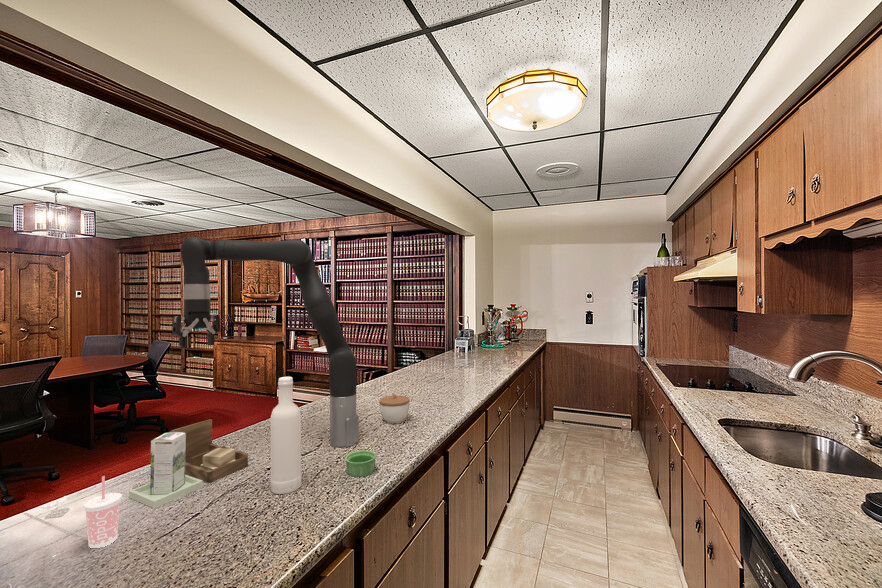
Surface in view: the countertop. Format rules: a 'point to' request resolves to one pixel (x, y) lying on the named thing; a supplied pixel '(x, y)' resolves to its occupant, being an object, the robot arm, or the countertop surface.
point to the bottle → (285, 441)
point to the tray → (157, 500)
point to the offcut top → (218, 457)
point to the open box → (201, 445)
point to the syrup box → (167, 463)
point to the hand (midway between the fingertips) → (197, 346)
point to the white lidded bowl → (394, 408)
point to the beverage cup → (102, 518)
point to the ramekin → (360, 463)
